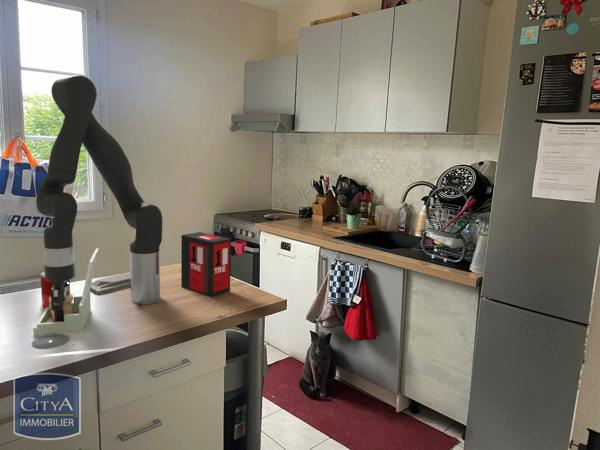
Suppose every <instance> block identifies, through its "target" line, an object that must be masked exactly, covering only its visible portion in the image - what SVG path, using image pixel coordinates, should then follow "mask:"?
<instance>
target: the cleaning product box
mask: <svg viewBox="0 0 600 450" xmlns="http://www.w3.org/2000/svg"><path fill="white" fill-rule="evenodd" d="M180 255H181V262H180V263H181V267H180V268H181V271H180V272H181V284H180V286H181V287H180V288H182V289H185V290H188V291H192V292H195V293H198V294H199V295H204V296H206V297H209V298H216V297H218V296H222V295H223V294H226V293H230V292H231V267H232V266H231V259H232V258H231V256H232V238H229V237H225V236H220V235H217V234H211V233H206V232H202V231H198V232H192V233H187V234H185V233H184V234H181V254H180ZM229 291H230V292H229Z"/></svg>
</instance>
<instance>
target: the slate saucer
mask: <svg viewBox="0 0 600 450" xmlns="http://www.w3.org/2000/svg"><path fill="white" fill-rule="evenodd" d="M69 340H70V337H69V336H68V335H67V334H65V333H55V334H44V335H42V336H39V337H37V338H35V339H34V340H33V341H32V342H31V346H32V347H34V348H35V349H41V350H44V349H46V350H47V349H53V348H57V347H58V348H59V347H60V346H63V345H65V344H66V343H68V342H69Z"/></svg>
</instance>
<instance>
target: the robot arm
mask: <svg viewBox="0 0 600 450" xmlns="http://www.w3.org/2000/svg"><path fill="white" fill-rule="evenodd" d="M51 96H52V99H53V101H54V103H55V105H56V106H57V107H58V109H59V110H60V112H61V113H62V115H63V116H64V117H63V122H62V125H61V128H60V130H59V132H58V135H57V137H56V139H55V140H54V143H53V146H52V147H51V151H50V154H49V155H50V156H49V160H48V167H47V171H46V172H47V173H46V176H45V177H44V179H43V181H42V183H41V186H40V188H39V190H38V192H37V194H36V199H35V204H36V208H37V210H38V212H39V213H40V214H41V215H42V216H46V217H53V220H52V221H53V223H52V225H47V226H46V227H45V228H44V230H43V243H44V244H43V245H44V246H43V247H44V250H43V265H44V271H45V279H46V280H48V281H52V282H54V285H53V286H52V289H51V291H50V293H51V306H52V308H51V309H52V311H54V316H55V322H64V302H66V295H67V294H71V285H70V284H71V283H70V280H72V279H73V278H75V275H76V268H75V267H76V266H75V265H76V264H75V251H74V245H73V244H74V243H73V229H74V227H75V223H76V218H77V213H78V203H77V200H76V198H75V197H74V196H73V195H72V194H71V193H68V192H64V189H65V188H66V186H69V185H72V184H73V183H75V181H76V177H77V173H78V167H79V159H80V154H81V150H82V146H84V148H85V150H86V151H87V153H88V154H89V157H90V159H91V160H92V162H93V164H94V165H95V167H96V169H97V170H98V172H99V174H100V175H101V177H102V178H103V180H104V183H106V185H107V187H108V188H109V190H110V191H111V193H112V195H113V196H114V198H115V200H116V202H117V204H118V207H119V208H120V211H121V213H122V216H123V217H124V220H125V221H126V223H127V224H128V225H129V226H130V228H133V230H134V229H135V239H134V240H133V241H131V242H130V244H129V258H130V259H129V260H130V261H129V262H130V265H129V266H130V268H129V269H130V273H129V274H131V287H130V301H131V302H132V303H136V305H150V304H154V303H160V302H161V300H160V299H161V297H160V296H161V289H160V288H161V285H160V284H161V283H160V281H161V280H160V278H161V275H160V246H161V244H162V241H163V214H162V211H161V210H160V209H161V208H159V207H158V206H157V205H154V204H151V203H147V202H146V201H144V199H143V198H142V196H141V195H140V193H139V191H138V189H137V188H136V186H135V183H134V179H133V171H132V166H131V162H130V161H129V159H128V157H127V155H126V153H125V152H124V149H123V148H122V146H121V144H120V143H119V142H118V141H117V139H116V138H114V136H113V135H112V134H110V133H109V132H108V131H107V130H106V129H105V128H104V127H103V126H102V125H101V124H100V122H99V121H98V120H97V119H96V117H95V116H94V114H93V111H94V107H95V105H96V102H97V97H98V93H97V88H96V86H95V84H94V83H93V81H92V80H91V79H90V78H88V77H87V76H84V75H79V74H77V75H69V76H66V77H61V78H59V79H56V80H55V81H54V82H53V84H52V86H51ZM57 302H59V305H60V306H56V303H57Z"/></svg>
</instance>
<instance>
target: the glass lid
mask: <svg viewBox="0 0 600 450" xmlns="http://www.w3.org/2000/svg"><path fill="white" fill-rule="evenodd" d="M98 253H99V248H95V250H94V252H93V254H92V256H91V258H90V259H89V262H88V268H87V272H86V277H85V282H84V286H83V290H82V291H83V292H82V295H81V296H82V300H81V304H83V303H84V301H85V299H86V296H87V294H88V291H89V289H90V287H91V283H93V276H94V272H95V267H96V263H97V257H98Z"/></svg>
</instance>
